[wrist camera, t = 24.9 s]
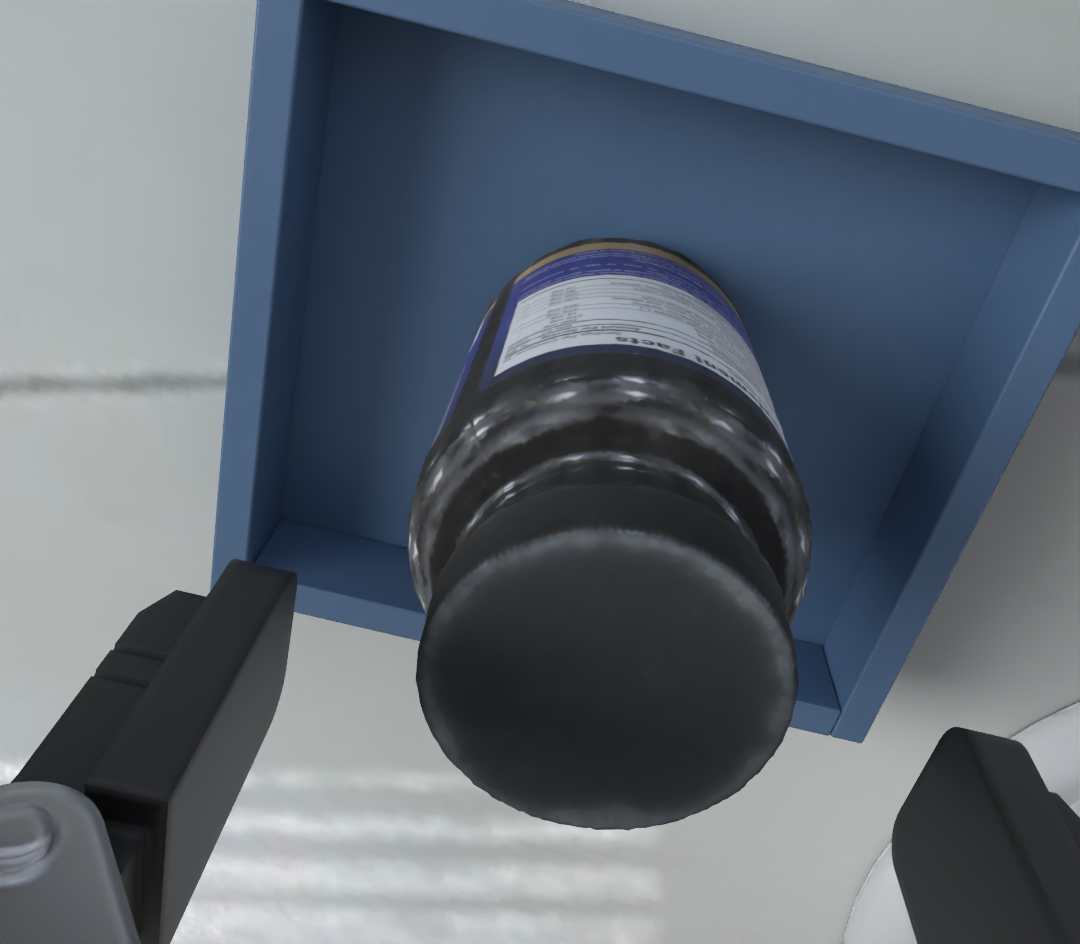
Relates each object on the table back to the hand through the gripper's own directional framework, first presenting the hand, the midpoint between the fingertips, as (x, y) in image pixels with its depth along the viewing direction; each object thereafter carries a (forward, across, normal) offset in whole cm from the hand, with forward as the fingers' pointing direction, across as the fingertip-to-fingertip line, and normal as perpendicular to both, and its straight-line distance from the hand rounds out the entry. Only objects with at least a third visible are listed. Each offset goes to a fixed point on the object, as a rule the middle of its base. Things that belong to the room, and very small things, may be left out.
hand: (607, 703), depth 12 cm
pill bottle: (+11, 0, 0) cm, 11 cm away
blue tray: (+12, 0, 0) cm, 12 cm away
